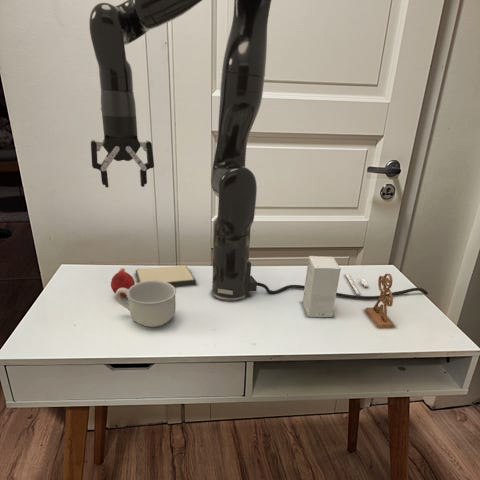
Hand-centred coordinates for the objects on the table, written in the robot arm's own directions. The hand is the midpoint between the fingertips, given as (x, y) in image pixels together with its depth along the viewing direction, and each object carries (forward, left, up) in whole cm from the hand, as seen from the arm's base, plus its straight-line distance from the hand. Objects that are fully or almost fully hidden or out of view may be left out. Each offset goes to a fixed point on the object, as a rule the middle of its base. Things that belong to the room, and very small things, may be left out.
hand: (125, 186), depth 105 cm
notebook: (-9, -1, -26) cm, 28 cm away
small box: (-43, +26, -26) cm, 57 cm away
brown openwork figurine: (-56, +34, -26) cm, 71 cm away
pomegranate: (+3, +8, -26) cm, 28 cm away
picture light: (-62, +15, -26) cm, 69 cm away
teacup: (-1, +21, -26) cm, 34 cm away
